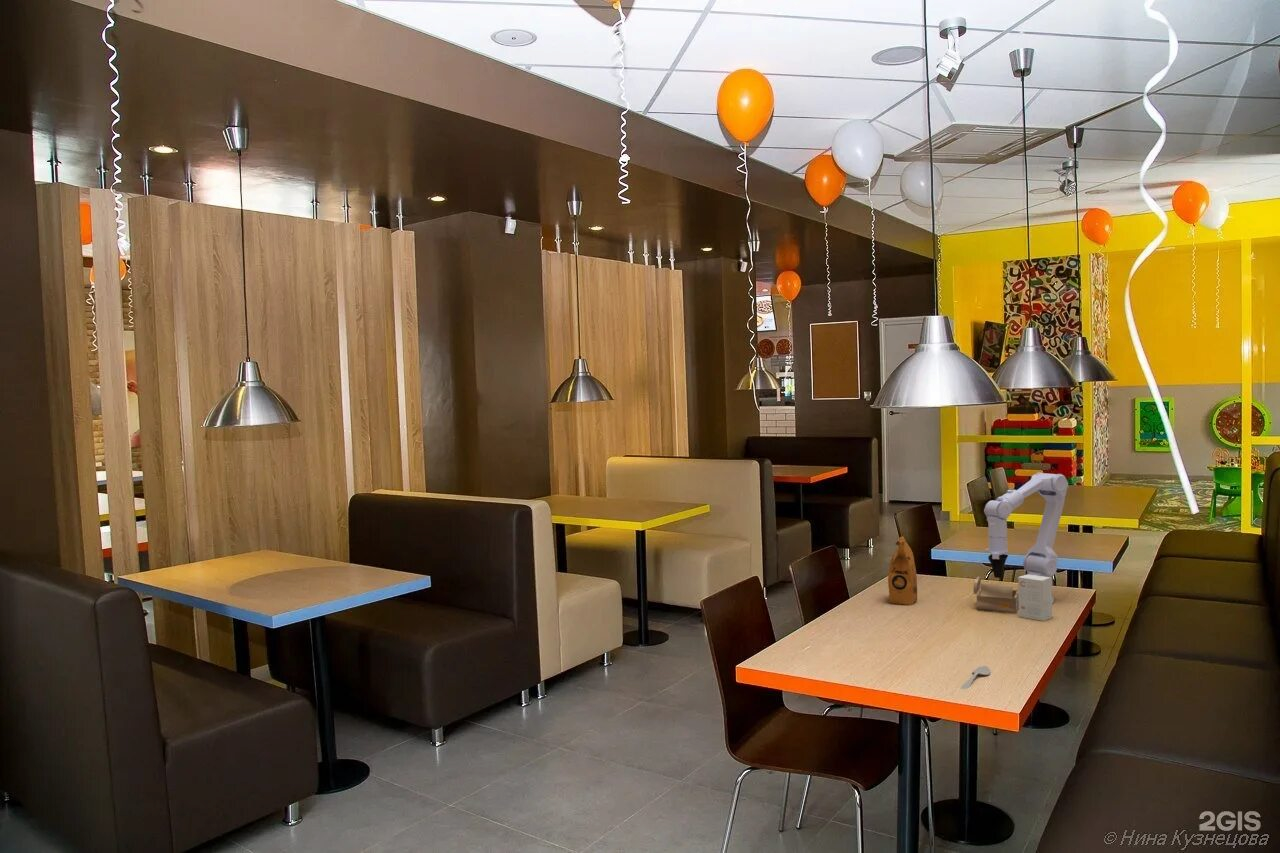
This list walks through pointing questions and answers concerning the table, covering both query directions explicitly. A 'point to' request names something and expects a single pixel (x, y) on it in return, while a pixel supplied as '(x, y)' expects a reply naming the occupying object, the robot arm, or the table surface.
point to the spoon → (976, 672)
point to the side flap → (977, 585)
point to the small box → (1035, 597)
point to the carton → (998, 603)
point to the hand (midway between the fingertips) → (998, 576)
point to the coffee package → (902, 575)
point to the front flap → (996, 591)
